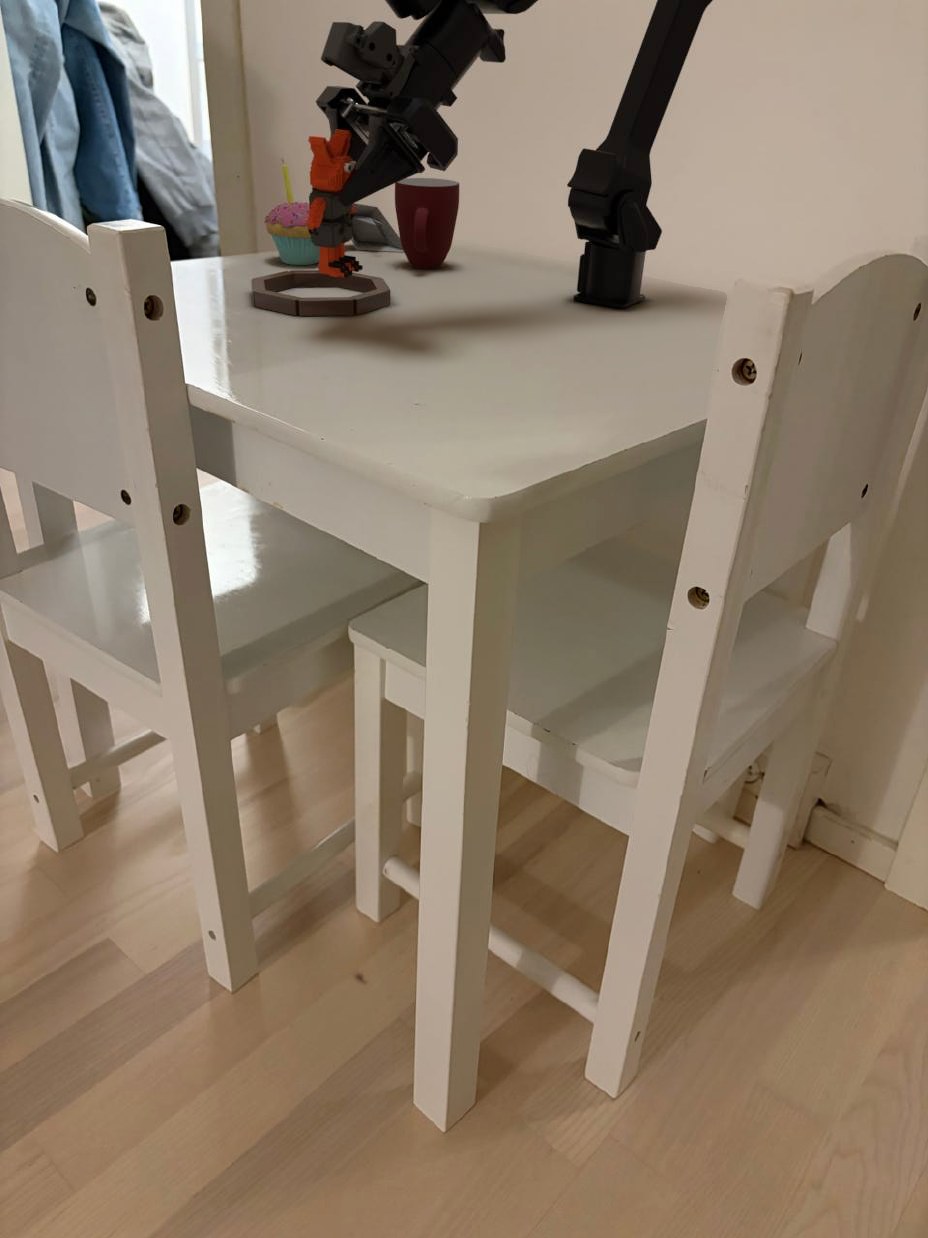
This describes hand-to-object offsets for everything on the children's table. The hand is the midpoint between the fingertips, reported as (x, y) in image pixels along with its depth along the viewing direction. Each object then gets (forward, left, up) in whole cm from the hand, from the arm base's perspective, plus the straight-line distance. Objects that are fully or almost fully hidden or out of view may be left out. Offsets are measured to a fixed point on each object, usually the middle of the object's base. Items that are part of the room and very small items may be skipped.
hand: (328, 198), depth 88 cm
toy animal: (-1, -1, -7) cm, 7 cm away
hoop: (+9, -10, -12) cm, 18 cm away
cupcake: (+24, -24, -12) cm, 36 cm away
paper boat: (+23, -36, -12) cm, 44 cm away
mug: (+10, -32, -12) cm, 35 cm away
